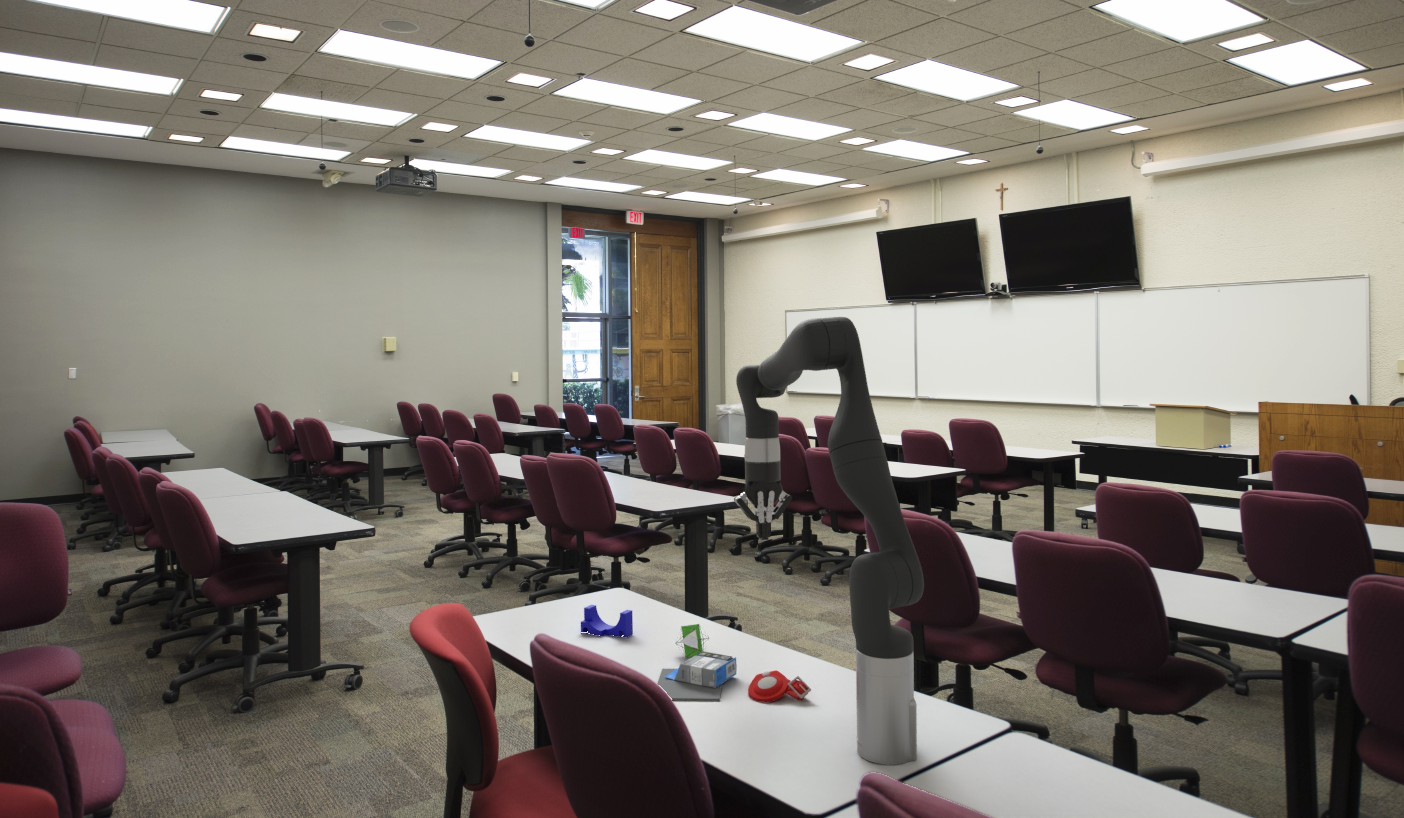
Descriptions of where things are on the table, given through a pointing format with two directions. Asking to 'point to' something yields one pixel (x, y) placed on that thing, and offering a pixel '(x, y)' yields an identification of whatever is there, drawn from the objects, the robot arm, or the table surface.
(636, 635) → the table surface
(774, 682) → the tracker holder
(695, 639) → the geometric puzzle
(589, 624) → the blue cradle support
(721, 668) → the label tape box
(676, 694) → the mat
